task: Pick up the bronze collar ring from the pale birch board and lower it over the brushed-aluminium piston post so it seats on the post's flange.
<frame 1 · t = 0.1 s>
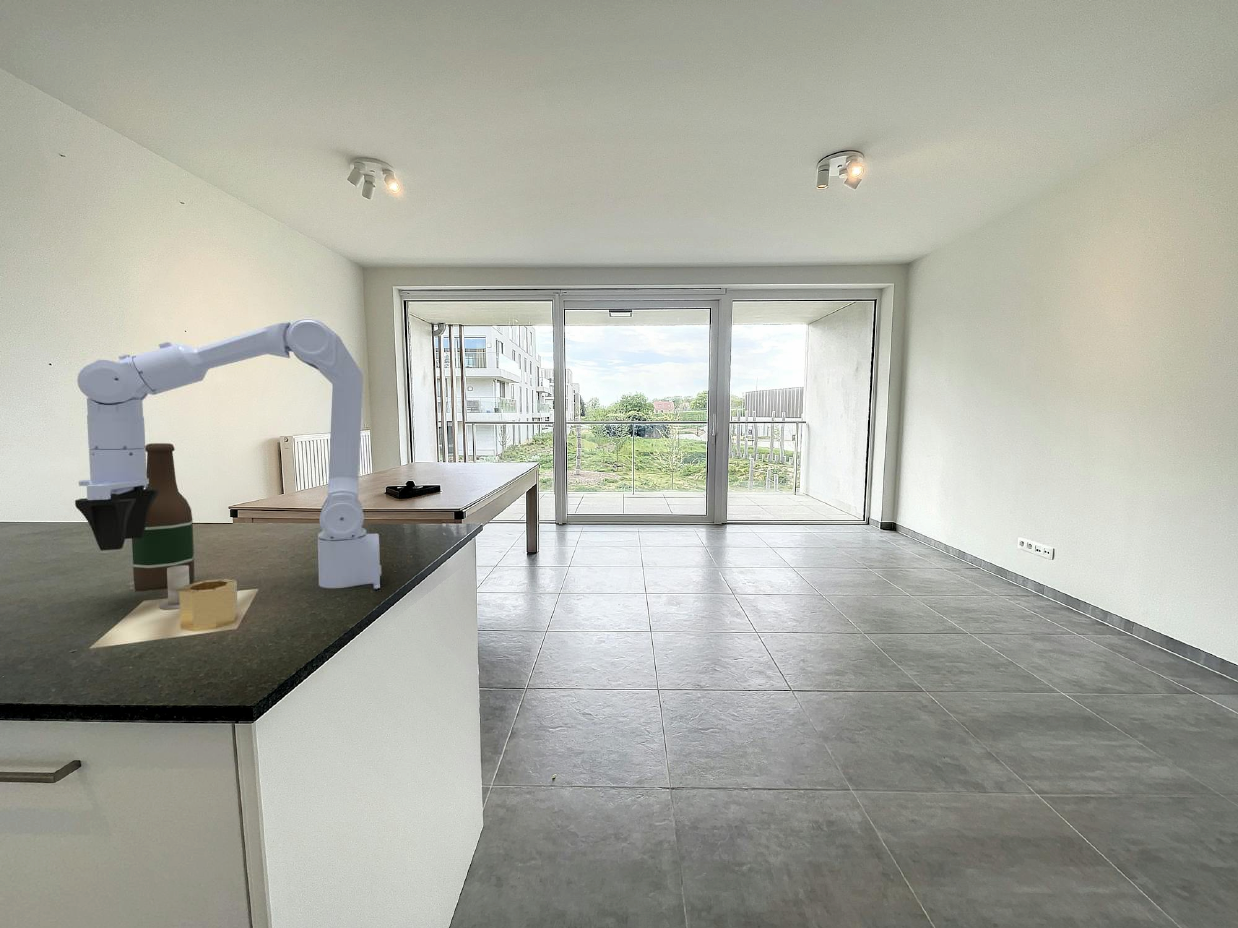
hand: (122, 543, 73), 10 cm above the countertop, tool pointing down, fingers open, 7 cm apart
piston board: (187, 620, 71), on the countertop
collar ring: (210, 622, 68), point 1 cm above the countertop, touching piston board
beer bottle: (165, 589, 84), on the countertop
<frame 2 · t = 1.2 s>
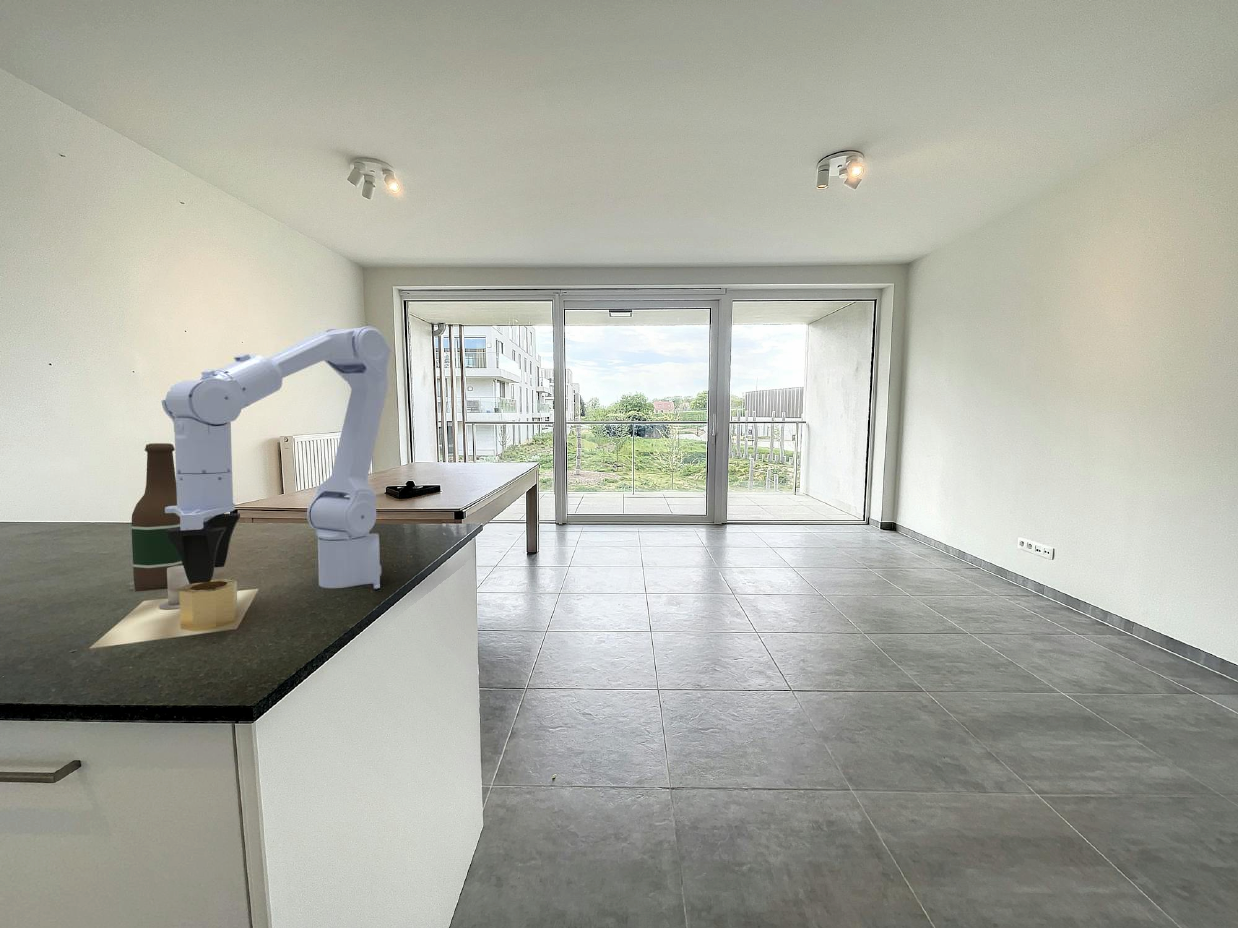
hand: (208, 574, 67), 8 cm above the countertop, tool pointing down, fingers open, 7 cm apart
nothing on the countertop moved.
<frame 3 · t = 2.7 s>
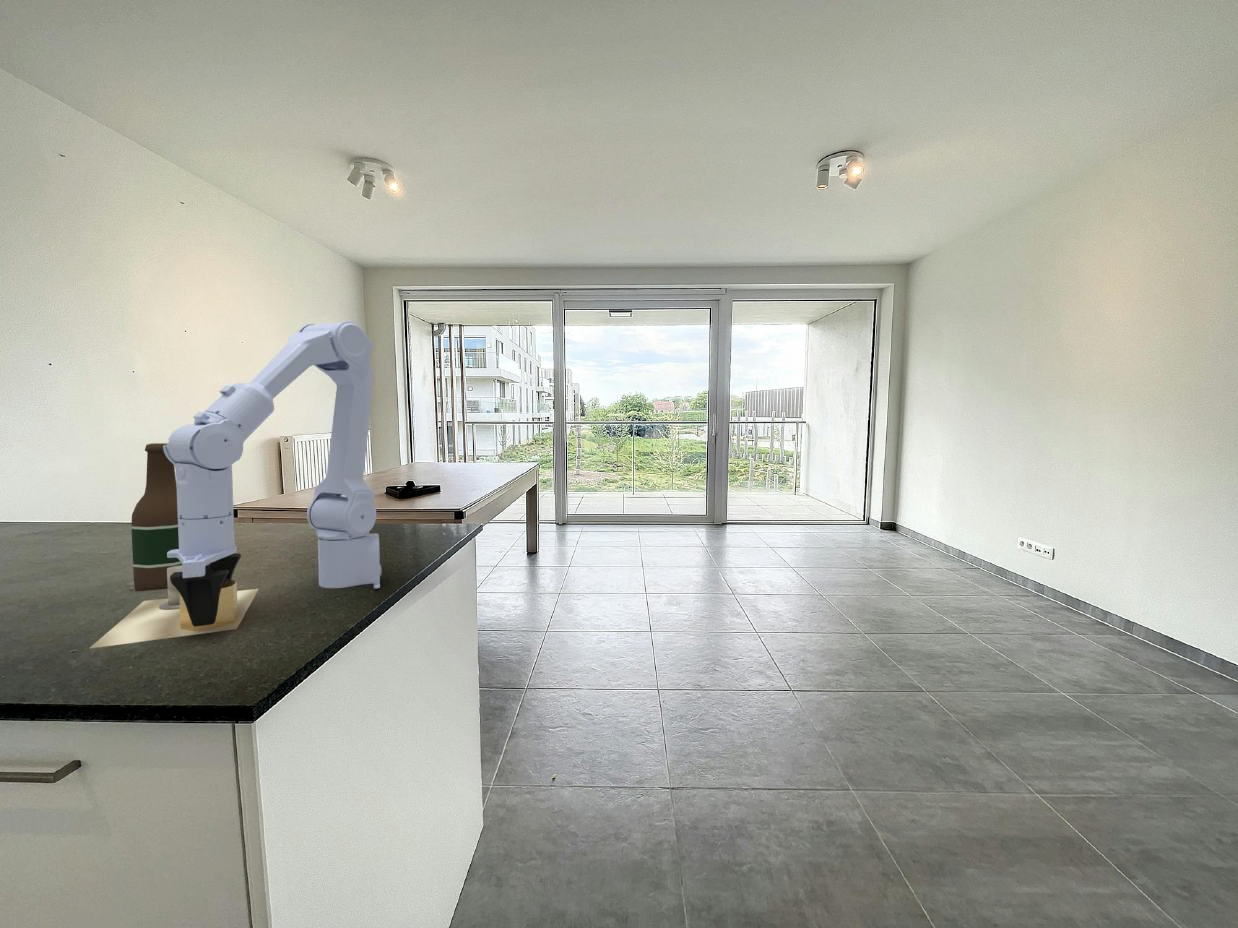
hand: (210, 616, 68), 2 cm above the countertop, tool pointing down, fingers closed on collar ring, 6 cm apart
collar ring: (210, 622, 68), point 1 cm above the countertop, touching gripper, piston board
everything else where it was.
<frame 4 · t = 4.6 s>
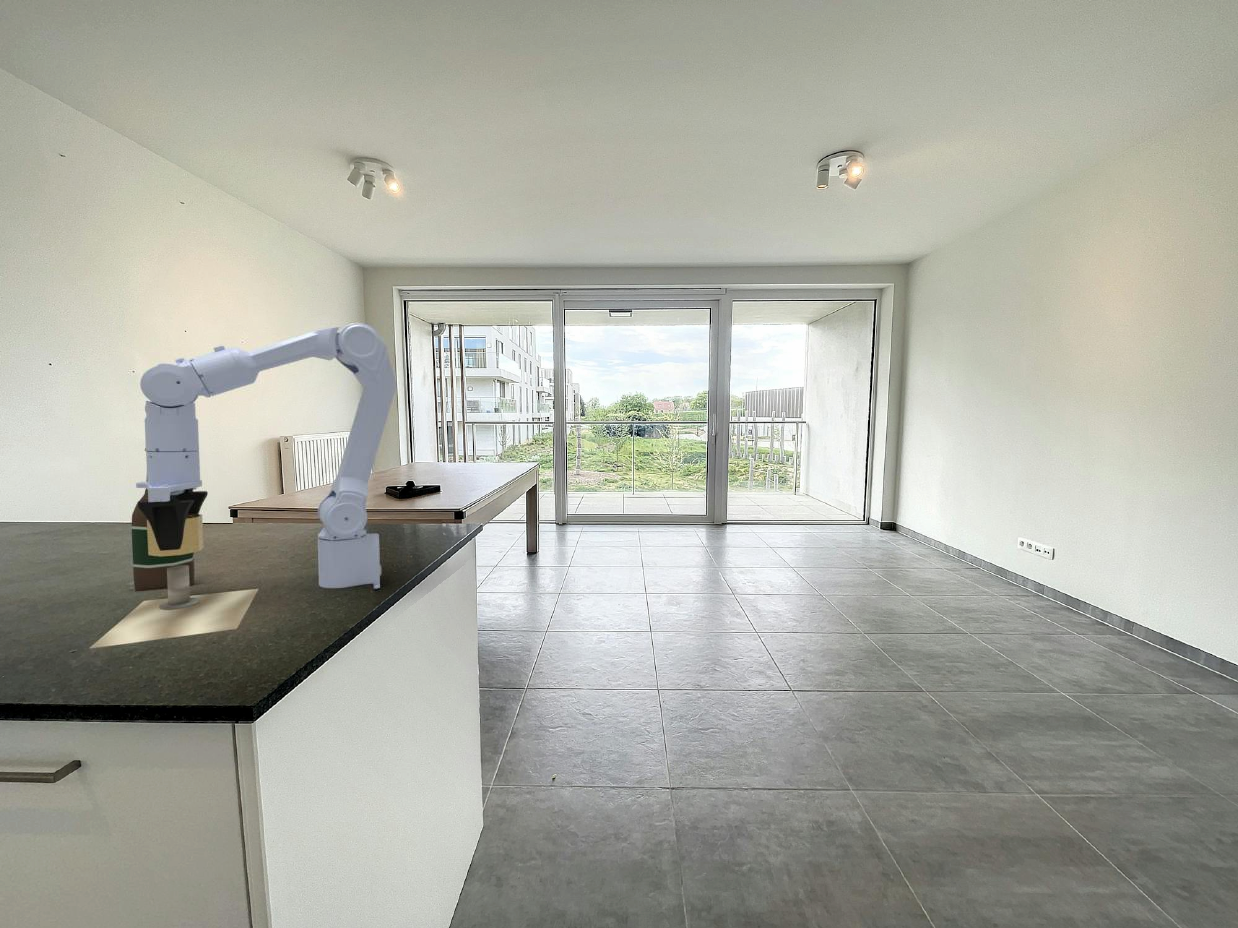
hand: (177, 544, 73), 10 cm above the countertop, tool pointing down, fingers closed on collar ring, 6 cm apart
collar ring: (176, 551, 73), point 9 cm above the countertop, touching gripper
everything else where it was.
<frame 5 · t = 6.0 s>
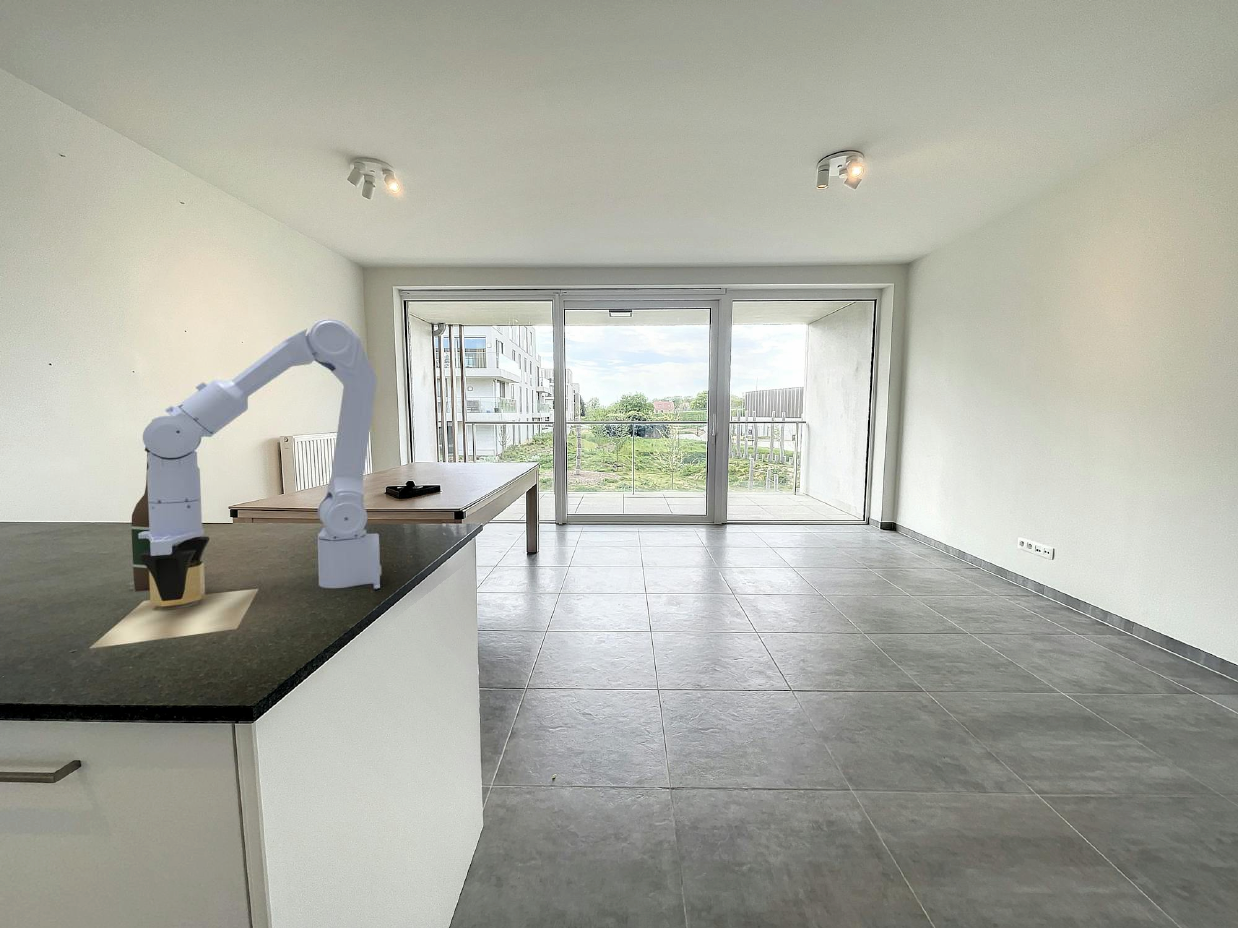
hand: (179, 593, 74), 3 cm above the countertop, tool pointing down, fingers closed on collar ring, 6 cm apart
collar ring: (178, 599, 74), point 2 cm above the countertop, touching gripper
everything else where it was.
when the fingers open (3 cm above the countertop, at t = 6.9 s): collar ring stays where it is, resting on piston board.
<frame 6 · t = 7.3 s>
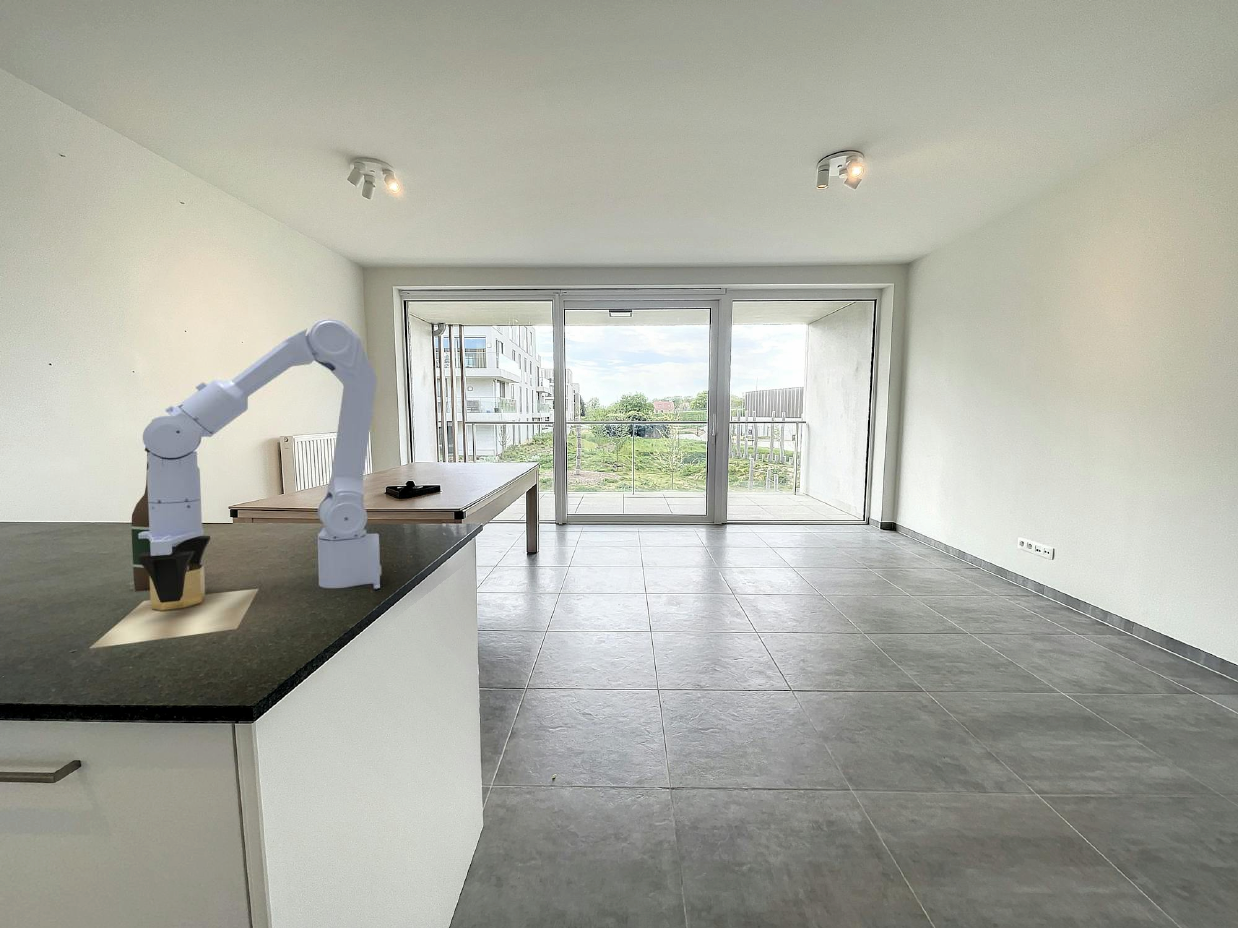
hand: (178, 593, 74), 3 cm above the countertop, tool pointing down, fingers open, 7 cm apart
collar ring: (178, 602, 74), point 1 cm above the countertop, touching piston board
everything else where it was.
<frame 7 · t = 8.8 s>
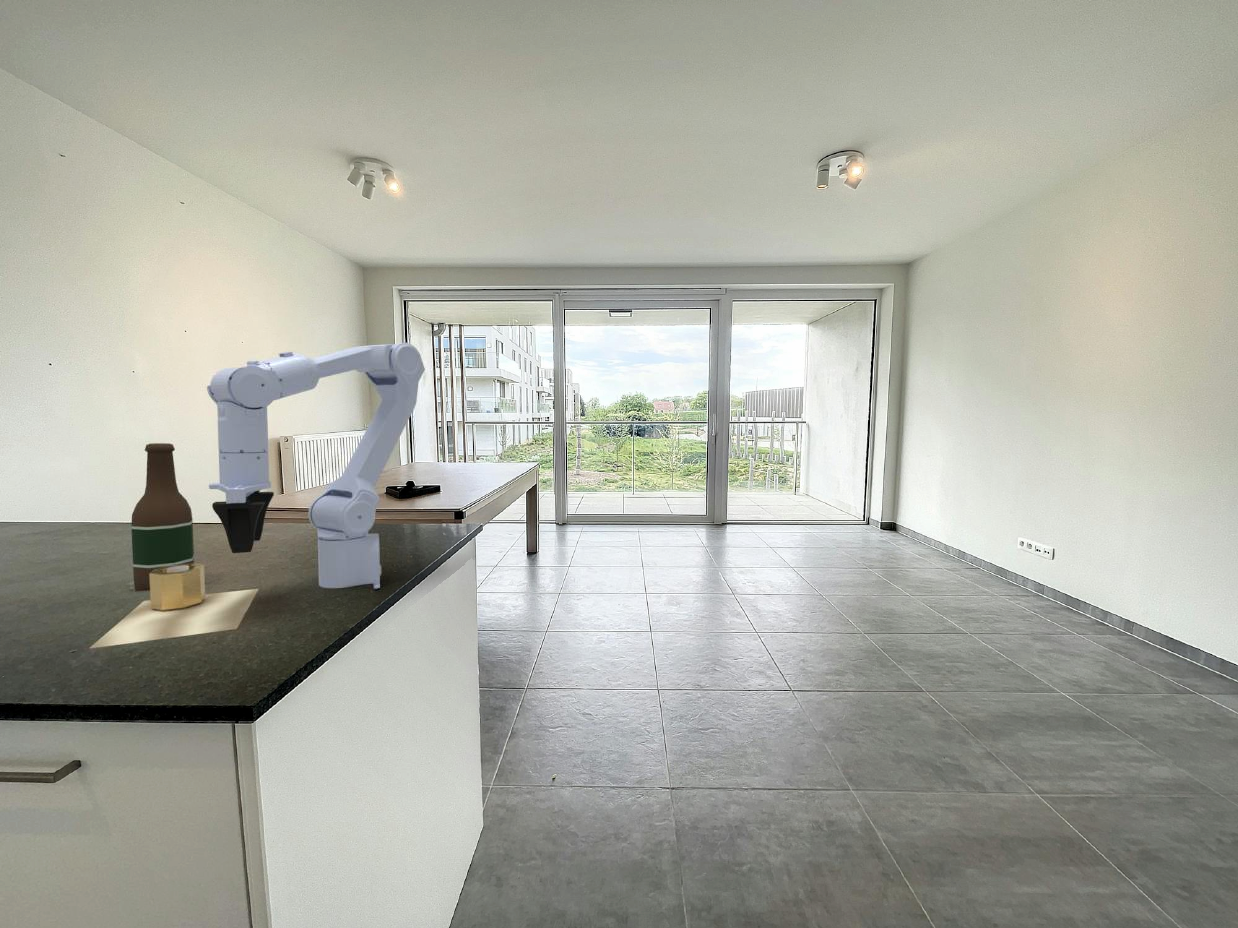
hand: (247, 546, 73), 10 cm above the countertop, tool pointing down, fingers open, 7 cm apart
nothing on the countertop moved.
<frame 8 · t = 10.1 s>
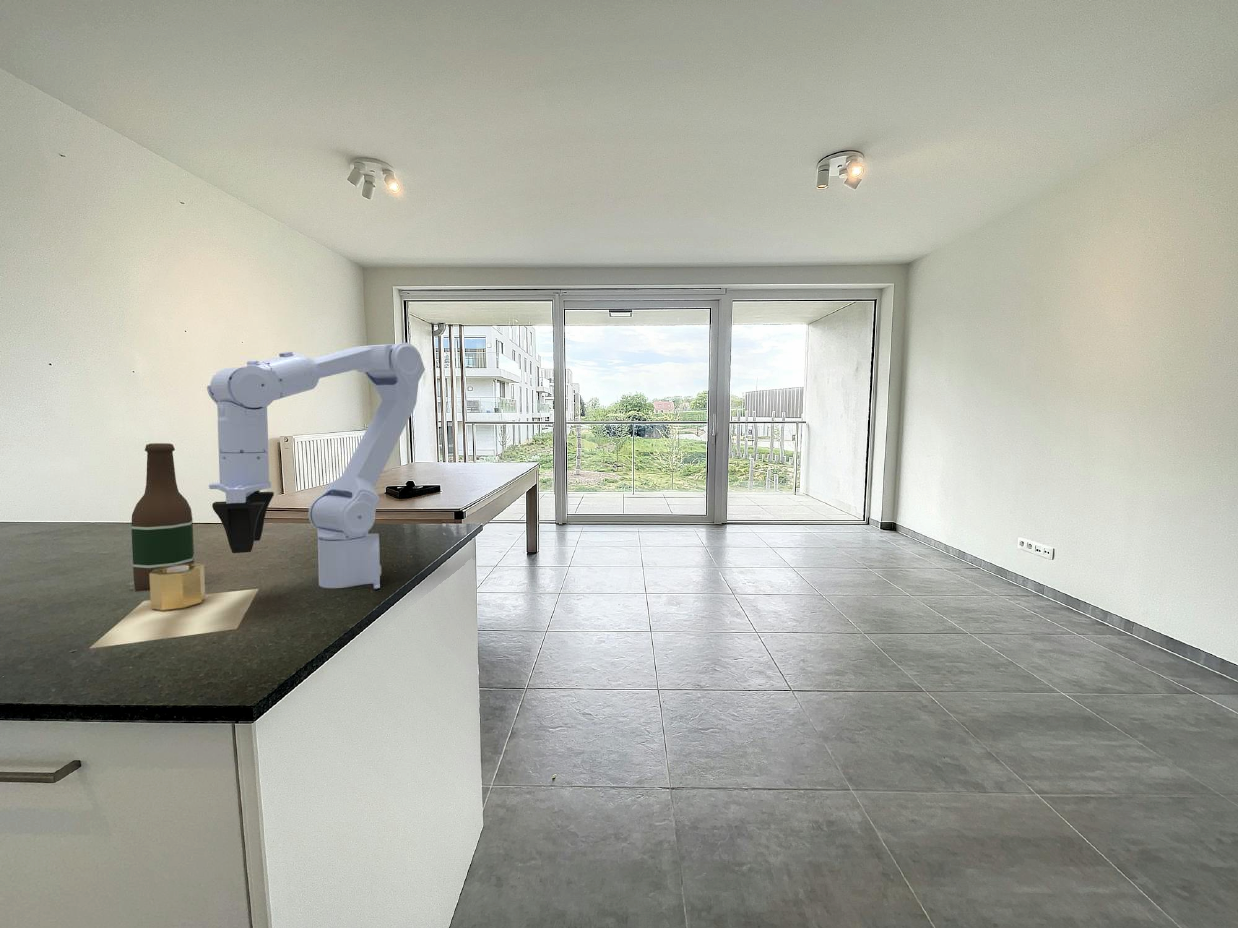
hand: (247, 546, 73), 10 cm above the countertop, tool pointing down, fingers open, 7 cm apart
nothing on the countertop moved.
at the end: collar ring 0.1 cm from the target spot on the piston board, point 1.3 cm above the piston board's base; collar ring tilted 0°; the gripper is holding nothing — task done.
